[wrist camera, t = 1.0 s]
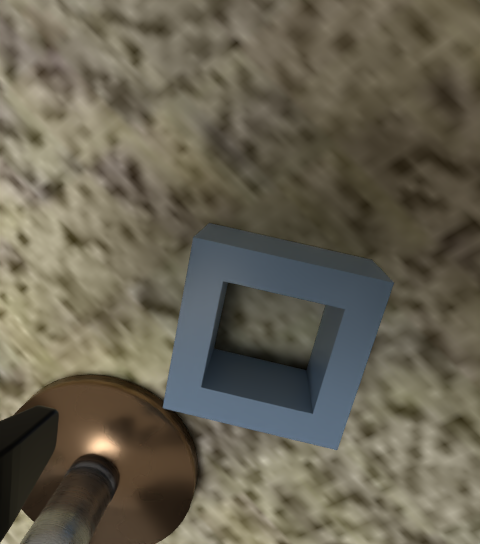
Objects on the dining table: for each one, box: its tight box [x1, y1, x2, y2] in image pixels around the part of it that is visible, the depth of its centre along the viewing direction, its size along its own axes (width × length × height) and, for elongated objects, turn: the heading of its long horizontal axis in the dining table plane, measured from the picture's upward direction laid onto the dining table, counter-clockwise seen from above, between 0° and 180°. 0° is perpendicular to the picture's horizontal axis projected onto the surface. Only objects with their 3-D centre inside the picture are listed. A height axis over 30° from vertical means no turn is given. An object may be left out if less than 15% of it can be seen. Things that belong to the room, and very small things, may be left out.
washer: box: [163, 223, 394, 450], centre depth 15 cm, size 6×6×3 cm
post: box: [14, 375, 198, 544], centre depth 15 cm, size 9×9×7 cm
